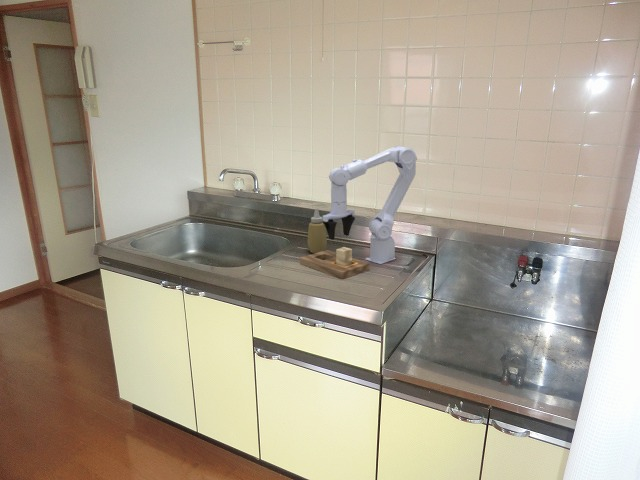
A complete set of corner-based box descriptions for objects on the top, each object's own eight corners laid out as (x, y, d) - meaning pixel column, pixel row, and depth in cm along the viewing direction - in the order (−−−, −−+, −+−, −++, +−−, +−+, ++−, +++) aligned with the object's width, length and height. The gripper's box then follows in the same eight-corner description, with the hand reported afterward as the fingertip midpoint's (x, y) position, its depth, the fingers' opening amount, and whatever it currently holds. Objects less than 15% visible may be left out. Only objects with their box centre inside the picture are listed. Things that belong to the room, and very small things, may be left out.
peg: (344, 267, 176) (344, 246, 173) (351, 270, 173) (351, 249, 171) (336, 270, 173) (336, 249, 171) (344, 272, 170) (344, 251, 168)
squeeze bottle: (304, 253, 193) (303, 210, 188) (312, 248, 200) (311, 206, 195) (322, 255, 190) (322, 211, 185) (330, 249, 197) (329, 207, 192)
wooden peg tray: (327, 255, 189) (327, 249, 188) (369, 269, 173) (369, 262, 172) (300, 263, 180) (299, 256, 180) (342, 279, 164) (342, 271, 163)
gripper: (345, 197, 181) (345, 231, 185) (316, 202, 172) (317, 238, 176) (358, 199, 176) (358, 234, 180) (330, 205, 167) (330, 242, 170)
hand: (339, 237), depth 177 cm, fingers open, 7 cm apart
